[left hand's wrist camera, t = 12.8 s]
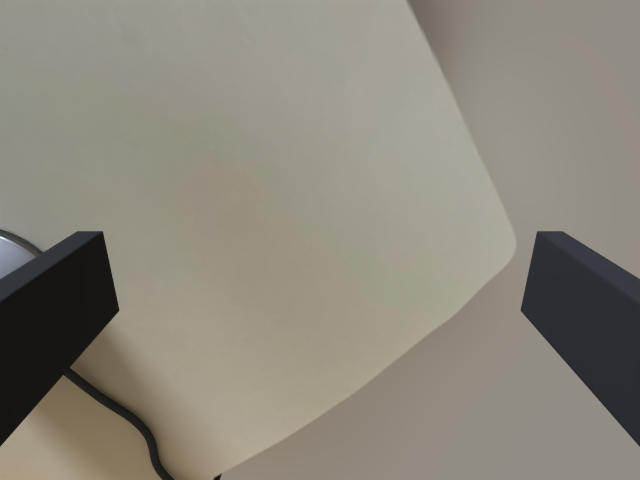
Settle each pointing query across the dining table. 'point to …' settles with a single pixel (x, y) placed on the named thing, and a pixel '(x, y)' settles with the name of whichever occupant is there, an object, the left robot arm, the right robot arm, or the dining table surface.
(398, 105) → the dining table surface
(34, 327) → the left robot arm
